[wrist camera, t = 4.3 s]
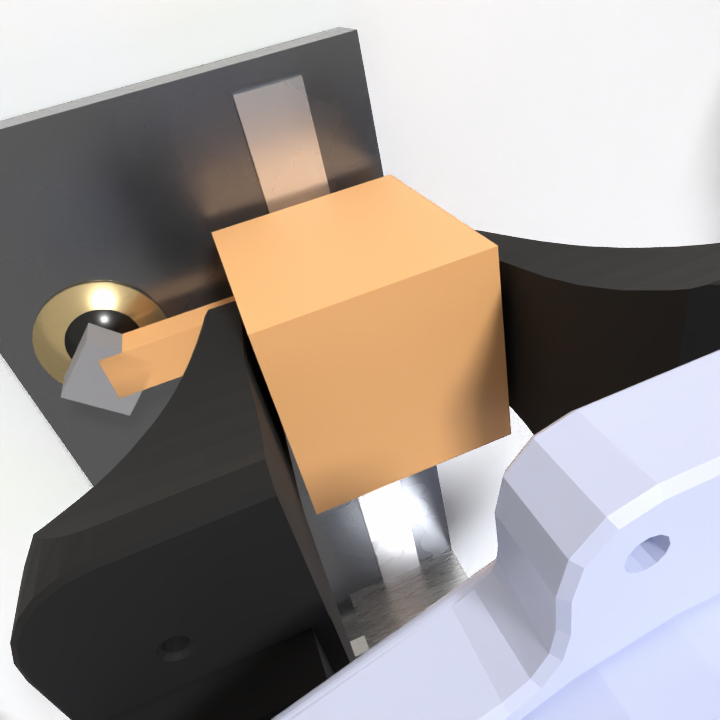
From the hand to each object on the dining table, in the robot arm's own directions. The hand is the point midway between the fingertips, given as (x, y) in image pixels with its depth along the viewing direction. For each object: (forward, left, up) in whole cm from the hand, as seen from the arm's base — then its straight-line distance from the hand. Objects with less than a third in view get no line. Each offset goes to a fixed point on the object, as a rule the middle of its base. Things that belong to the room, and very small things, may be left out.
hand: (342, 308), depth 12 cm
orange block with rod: (0, +2, -1) cm, 2 cm away
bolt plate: (-6, +2, -3) cm, 7 cm away
